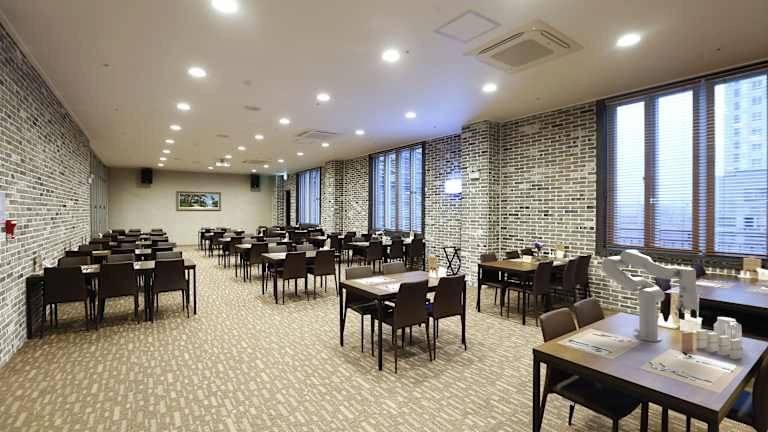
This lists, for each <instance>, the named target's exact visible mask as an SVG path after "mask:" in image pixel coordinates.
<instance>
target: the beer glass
mask: <svg viewBox="0 0 768 432" xmlns="http://www.w3.org/2000/svg"><path fill="white" fill-rule="evenodd" d="M742 329H743V328H742V324H741V323H738V322H736V323H734V322H726V325H725V333H726V336H729V351H730V340H731V339H741V340H742V336H743V335H742V334H743V333H742V331H743V330H742Z"/></svg>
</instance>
